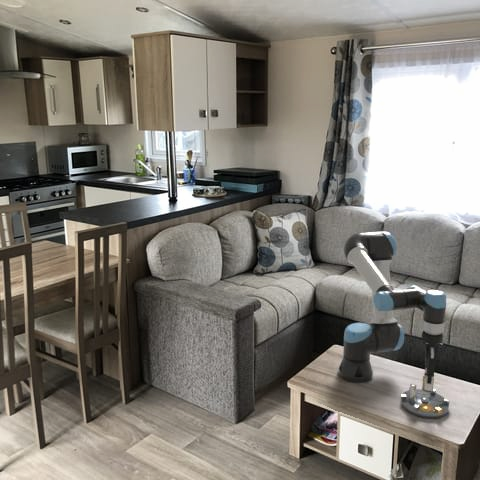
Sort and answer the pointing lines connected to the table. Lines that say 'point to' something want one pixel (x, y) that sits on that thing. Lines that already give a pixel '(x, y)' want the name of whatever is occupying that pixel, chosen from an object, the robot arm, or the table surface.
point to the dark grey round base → (424, 403)
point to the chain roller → (424, 385)
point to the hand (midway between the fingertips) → (427, 386)
